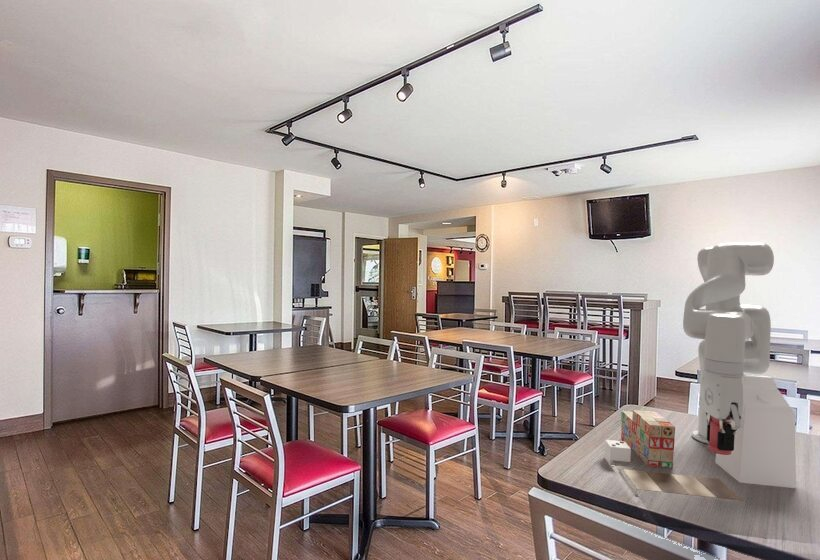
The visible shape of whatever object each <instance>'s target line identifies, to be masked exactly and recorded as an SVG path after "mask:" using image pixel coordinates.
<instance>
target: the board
mask: <svg viewBox="0 0 820 560" xmlns="http://www.w3.org/2000/svg"><path fill="white" fill-rule="evenodd" d="M618 470H619V471H618V473H619V475H620V476H621V478H622V480H623V481H624V482H625V484H626V485H627V487H628V488H629V489H630V490H631V492H632V493H633V495H634V497H635V498H636V497H637V498H639V497H640V496H639V495H638V494H637V492H636V491H635V489H634V487H633V486H635V487H636V490H640V491H650V492H651V491H652V492H660V493H669V494H679V495H687V496H688V495H690V496H698V497H708V498H718V499H725V500H726V499H727V500H736V501H744V499H743V498H742V497H741V496H740V495H738V494H737V493H736V492H734V491H733V490H732V489H731V488H730V487H729V486H728V485H727V484H725V483H724V481H722V480H721V479H720V478H715V477H705V476H693V475H686V474H685V475H684V474H675V473H671V474H670V473H665V472H663V473H662V472H654V471H653V472H652V471H643V470H636V469H635V470H633V469H626V468H625V469H622V470H623V472H624V473H625V474H626V476H627V477H628V478H629V479H630V481H631V482H632V484H633V486H632V485H631V483H630V482H629V481H628V479H627V477H626V476H625V475H624V474H623V472H622V471H621V469H618Z"/></svg>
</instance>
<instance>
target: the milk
mask: <svg viewBox="0 0 820 560" xmlns="http://www.w3.org/2000/svg"><path fill="white" fill-rule="evenodd" d="M741 378H742V384H743V416H742V420H741V421H740V422H741V428H739V429H737V430H736V434H735V437H734V450H733V451H731V454H730V455H722V454H717V453H715V461H714V462H715V464H716V465H717V466H719V467H720V468H721V469H722V470H724V471H725V472H726V473H727V474H728V475H730V476H731V477H732V478H733V479H735V481H737V482H738V483H742V484H751V485H760V486H771V487H778V488H780V487H781V488H790V489H797V469H796V468H797V466H796V465H797V464H796V463H797V462H796V460H797V458H796V456H797V455H796V417H795V413H794V411H793V409H792V407H791V405H790V404H789V403H788V401H787V400H786V399H785V397H784V396H783V394H782V393H781V391H780V390H779V388H778V386H777V384H776V382H775V380H774V378H773V377H772V376H766V375H755V374H754V375H753V374H744V376H743V377H741Z"/></svg>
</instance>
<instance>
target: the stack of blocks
mask: <svg viewBox="0 0 820 560" xmlns="http://www.w3.org/2000/svg"><path fill="white" fill-rule="evenodd" d="M620 420H621V425H620V426H621V429H620V430H621V432H620V433H621V434H620V437H621V438H620V441H621V440H622V441H625V442H626V443H627V445H628V446H629V447H630V448H631V450H633V451H634V452H635V453H636V454H637V455H638V457H640V459H641V461H643V463H644V464H645V465H646V467H647V466H649V467H651V466H652V467H659V468H672V469H673V468H674V453H675V452H674V450H675V435H676V434H675V433H676V426H675V425H673V424H672V423H671V422H670V421H669V420H668V419H666V418H665V417H663V415H661V414H659V413H658V412H656V411H652V410H635V409H632V411H628V410H622V411H621V419H620Z"/></svg>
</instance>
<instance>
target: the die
mask: <svg viewBox="0 0 820 560" xmlns="http://www.w3.org/2000/svg"><path fill="white" fill-rule="evenodd" d="M604 444H605V445H604V459H605V460H606V462H607V464H608V463H609V464H608V465H609V466H611V465H615V466H614V467H617V466H618V465H617V464H616V463H615V461H616V462H627V463H631V456H632V455H631V454H632V449H631V448H630V447H629V446H628V445H627V443H626V442H625V441H621V440H614V439H613V440H612V439H605V441H604Z"/></svg>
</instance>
